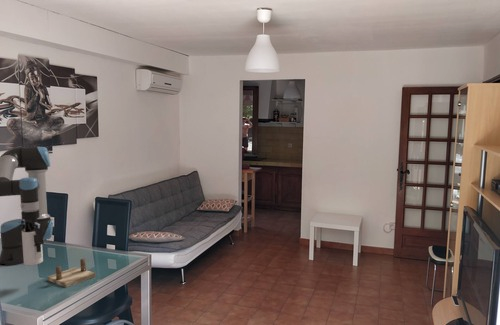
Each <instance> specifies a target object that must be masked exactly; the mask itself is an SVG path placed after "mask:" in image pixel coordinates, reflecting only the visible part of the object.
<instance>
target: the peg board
mask: <svg viewBox="0 0 500 325" xmlns="http://www.w3.org/2000/svg"><path fill="white" fill-rule="evenodd" d="M79 261H80V267H78V266H75V267H72V268H69V269H67V270H63V271H62V265H61V266H60V265H59V266H56V267H55V274H51V275H47V281H48V282H52V283H54V284H56V285H59V286H61V287H64V288H69V287H72V286H73V285H76V284H80V283H82V282H85V281H88V280H90V279H94V278H95V277H96V272H93V271H90V270H87V267H86V258H81V259H79Z"/></svg>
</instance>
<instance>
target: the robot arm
mask: <svg viewBox="0 0 500 325" xmlns="http://www.w3.org/2000/svg"><path fill="white" fill-rule="evenodd" d="M50 160H51V159H50V155H49V151H48V148H47V147H45V146H27V147H25V146H23V147H22V146H21V147H14V148H10V149H8V150H7V151H5V152H3V153H2V154H1V155H0V197H11V196H20V210H21V214H20V215H21V218H15V219H11V220H8V221H5V222H3V223H1V225H0V243H1V245H0V246H1V250H0V263H1V264H5V265H4V266H12V265H11V264H15V265H19V263H20V264H23V263H24V258H23V243H22V230H24V229H25V232H35V233H36V235H34V242H35V245H34V250H35V259H38V258H41V244H42V245H44V244H45V242H44V240H45V241H46V240H49V239H50V240H51V239H52V236H53V229H54V219H53V218H51V215H50V214H48V204H47V184H46V172H47V171H48V170H49V169H48V168H50V167H51V161H50ZM23 168H24V171H25V173H27V174H28V175H27V176H28V177H22V178H20V179H14V178H13V177H14V174H15V172H16V169H23ZM34 229H35V230H34ZM22 262H23V263H22ZM1 264H0V265H1Z"/></svg>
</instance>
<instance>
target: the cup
mask: <svg viewBox="0 0 500 325" xmlns="http://www.w3.org/2000/svg"><path fill="white" fill-rule="evenodd" d="M34 230H35V229H34ZM34 235H36V233H35V232H25V229H24V230H22V243H23V258H24V262H23V265H26V266H34V265H35V266H36V265H39V264H42V263H43V262H44V254H43V244H41V258H38V259H35V250H34V245H35V242H34Z"/></svg>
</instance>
